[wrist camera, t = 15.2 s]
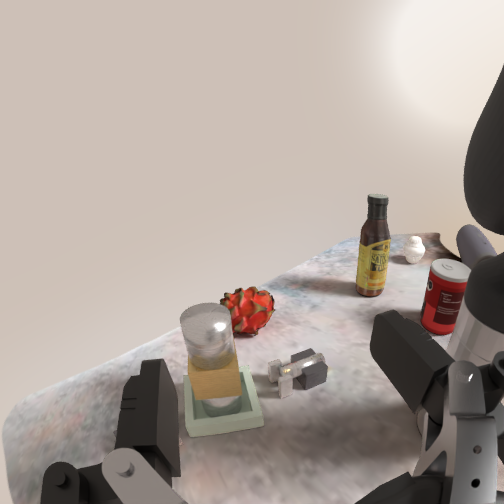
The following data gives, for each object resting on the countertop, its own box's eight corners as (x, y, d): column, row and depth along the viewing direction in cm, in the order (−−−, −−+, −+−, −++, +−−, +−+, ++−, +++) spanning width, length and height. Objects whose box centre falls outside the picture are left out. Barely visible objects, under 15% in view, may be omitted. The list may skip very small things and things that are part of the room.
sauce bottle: (369, 301, 53) (377, 200, 45) (349, 288, 58) (353, 194, 51) (390, 291, 55) (399, 197, 48) (370, 280, 61) (376, 191, 53)
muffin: (427, 265, 64) (431, 239, 61) (407, 267, 64) (410, 240, 62) (416, 255, 70) (419, 231, 67) (398, 257, 70) (400, 232, 67)
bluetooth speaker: (497, 296, 45) (508, 255, 42) (464, 292, 50) (473, 250, 46) (479, 257, 64) (484, 224, 60) (452, 254, 68) (456, 220, 64)
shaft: (281, 399, 34) (281, 383, 33) (268, 378, 38) (267, 361, 36) (328, 380, 36) (330, 363, 35) (312, 362, 40) (313, 345, 39)
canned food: (434, 306, 48) (445, 254, 44) (463, 324, 41) (479, 270, 37) (411, 320, 45) (422, 264, 41) (442, 341, 38) (459, 283, 34)
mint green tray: (250, 377, 38) (248, 365, 37) (264, 426, 30) (263, 415, 29) (187, 386, 37) (183, 375, 36) (190, 437, 29) (185, 427, 28)
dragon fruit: (216, 348, 47) (268, 327, 54) (241, 343, 40) (297, 318, 48) (199, 302, 49) (253, 286, 56) (221, 288, 42) (279, 272, 50)
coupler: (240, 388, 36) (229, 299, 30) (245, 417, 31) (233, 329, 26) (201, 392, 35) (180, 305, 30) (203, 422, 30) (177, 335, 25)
